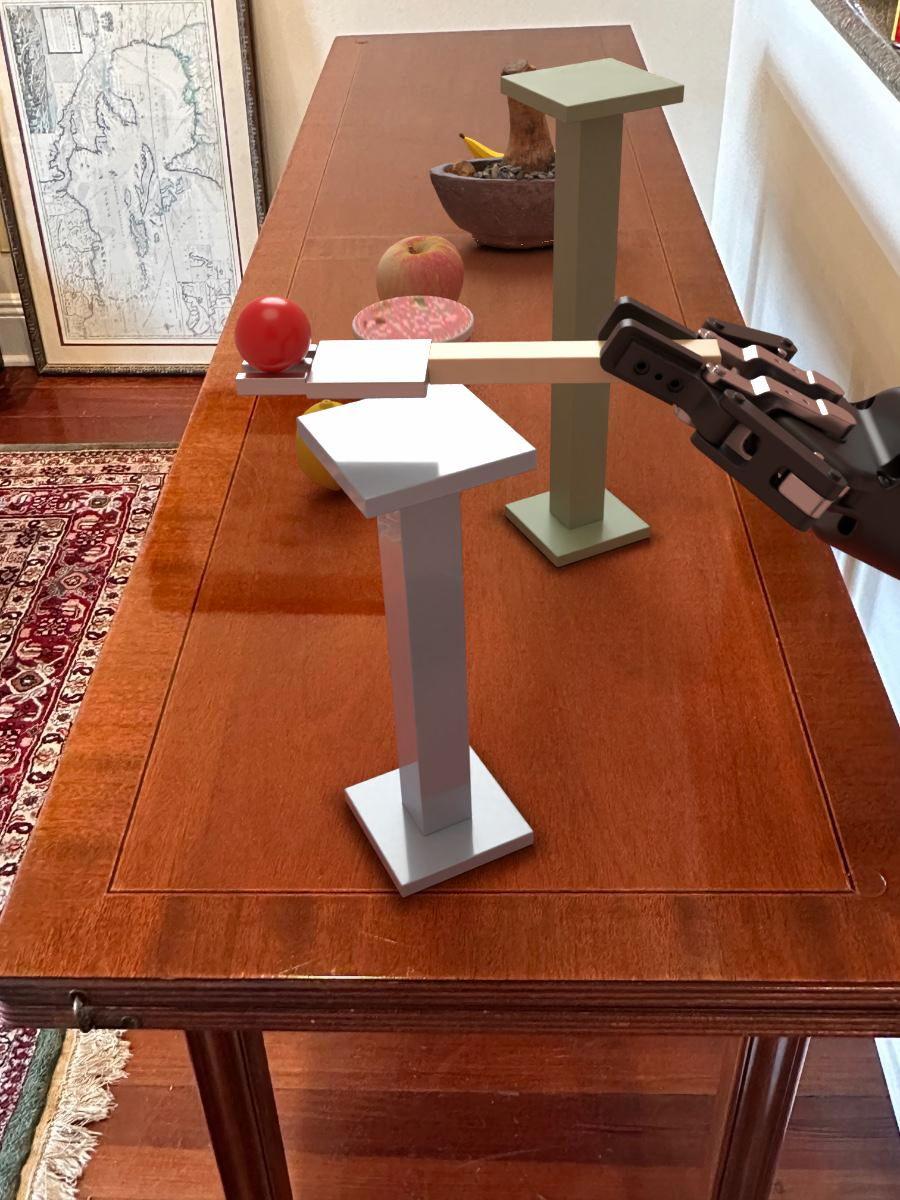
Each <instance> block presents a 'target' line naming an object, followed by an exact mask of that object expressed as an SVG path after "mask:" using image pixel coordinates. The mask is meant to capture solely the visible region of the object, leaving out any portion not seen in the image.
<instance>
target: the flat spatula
mask: <svg viewBox="0 0 900 1200" xmlns="http://www.w3.org/2000/svg"><path fill="white" fill-rule="evenodd" d="M233 333H234V334H233V335H234V342H235V343H234V344H235V346H236V350H237V352H238V353H239V355H240V357H241V358H242V360H243V361H242V362H241V372H238V373H237V374H236V376H235V378H234V382H235V388H236V395H237V396H238V397H239V396H240V397H241V396H242V397H243V396H245V397H246V396H247V397H248V396H306V399H307V400H364V399H391V398H426V396H427V391H428V385H429V384H430V385H455V384H469V385H534V384H536V385H539V384H540V385H541V384H542V385H544V384H546V385H547V384H549V385H551V384H554V383H610V384H628V383H627V382H625V381H623V380H621V379H619V378H617V377H615V376H613V375H612V374H610V373H608V372H606V371H604V370H603V369H602V367H601V365H600V355H599V354H600V350H601V348H602V347H603V345H604V344H605V342H606V341H552V340H550V341H548V340H547V341H546V340H545V341H483V342H482V341H478V342H477V341H474V342H473V341H472V342H467V343H433V341H432V340H359V341H356V340H320V341H319V342H318V344H312V339H313V338H312V337H313V336H312V327H311V323H310V320H309V319H308V317H307V314H305V311H303V309H302V308H301V307H300V306H299V305H298V304H297V303H296V302H294V301H292V300H291V299H289V298H286V297H283V296H279V295H263V296H260V297H258V298H254V299H253V300H252V301H250V302H249V303H247V305H245V306H244V307H243V308H242V310H241V311H240V313H239V314H238V316H237V318H236V321H235V325H234V332H233ZM673 341H674V342H676V343H678V344H680V345H682V346H684V347H686V348H687V349H689V350H691V351H693V352H695V353H697V354H699V355H701V356H702V361H703V365H702V366H701V367H700V368H701V369H703V368H704V367H705V365H706V364H707V363H708V362H714V363H716V364H719V365H721V357H722V356H721V353H720V349H719V345H718V341H717V340H716V339H701V340H673Z"/></svg>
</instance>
